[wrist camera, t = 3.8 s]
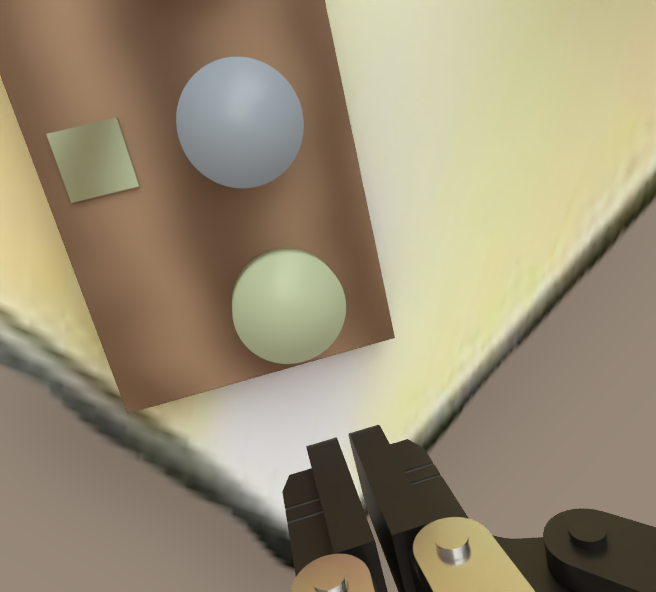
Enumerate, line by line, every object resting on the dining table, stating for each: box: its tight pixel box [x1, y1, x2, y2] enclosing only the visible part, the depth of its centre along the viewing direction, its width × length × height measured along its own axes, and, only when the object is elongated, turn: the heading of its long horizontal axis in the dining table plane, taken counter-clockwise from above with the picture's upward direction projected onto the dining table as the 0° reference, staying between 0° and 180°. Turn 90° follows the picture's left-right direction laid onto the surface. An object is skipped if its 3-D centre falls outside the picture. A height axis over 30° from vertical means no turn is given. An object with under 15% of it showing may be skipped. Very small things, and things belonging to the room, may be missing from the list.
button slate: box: [176, 57, 304, 188], centre depth 23 cm, size 5×5×2 cm
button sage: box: [232, 247, 346, 364], centre depth 26 cm, size 5×5×2 cm
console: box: [0, 0, 395, 413], centre depth 27 cm, size 14×24×3 cm, turn 13°
